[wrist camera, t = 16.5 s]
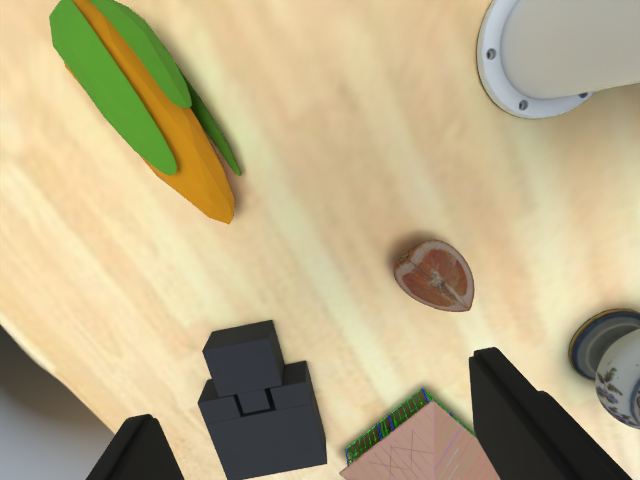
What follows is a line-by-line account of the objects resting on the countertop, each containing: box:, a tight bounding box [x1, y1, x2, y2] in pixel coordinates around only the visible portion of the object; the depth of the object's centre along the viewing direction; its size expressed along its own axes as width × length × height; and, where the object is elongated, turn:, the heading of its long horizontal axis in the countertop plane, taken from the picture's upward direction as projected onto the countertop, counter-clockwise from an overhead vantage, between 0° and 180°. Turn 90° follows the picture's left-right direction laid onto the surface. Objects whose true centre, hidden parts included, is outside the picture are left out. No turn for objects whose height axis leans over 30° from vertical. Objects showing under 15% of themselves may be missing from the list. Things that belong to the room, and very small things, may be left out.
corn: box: [49, 0, 241, 224], centre depth 26 cm, size 7×8×20 cm
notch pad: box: [198, 361, 327, 480], centre depth 37 cm, size 12×12×4 cm
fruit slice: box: [394, 240, 474, 312], centre depth 32 cm, size 8×7×5 cm
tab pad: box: [202, 320, 284, 413], centre depth 35 cm, size 7×9×4 cm
